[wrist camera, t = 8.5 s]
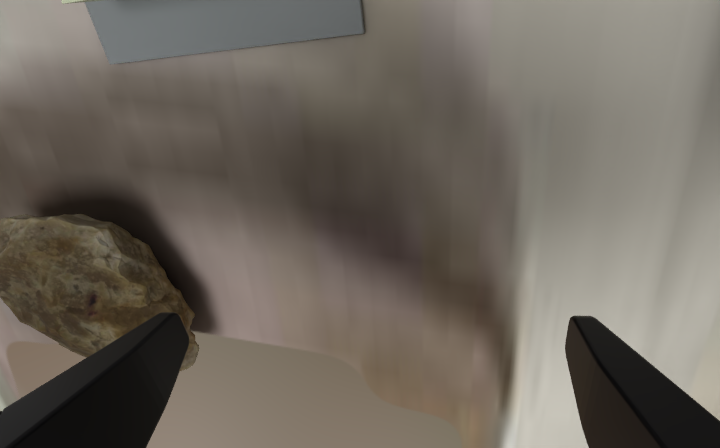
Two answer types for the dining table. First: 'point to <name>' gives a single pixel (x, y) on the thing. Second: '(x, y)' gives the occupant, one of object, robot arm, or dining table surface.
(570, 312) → the dining table surface
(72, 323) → the stone
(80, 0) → the base block
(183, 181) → the dining table surface
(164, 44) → the build mat
